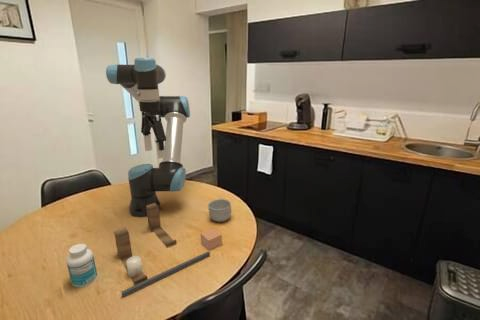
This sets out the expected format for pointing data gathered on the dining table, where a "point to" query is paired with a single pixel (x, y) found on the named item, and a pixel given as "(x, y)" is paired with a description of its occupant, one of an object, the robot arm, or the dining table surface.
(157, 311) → the dining table surface
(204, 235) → the cube
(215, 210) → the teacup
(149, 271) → the dining table surface
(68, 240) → the dining table surface
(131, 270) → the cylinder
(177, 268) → the bar
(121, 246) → the brown l-shaped bracket
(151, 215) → the brown l-shaped block
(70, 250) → the pill bottle
